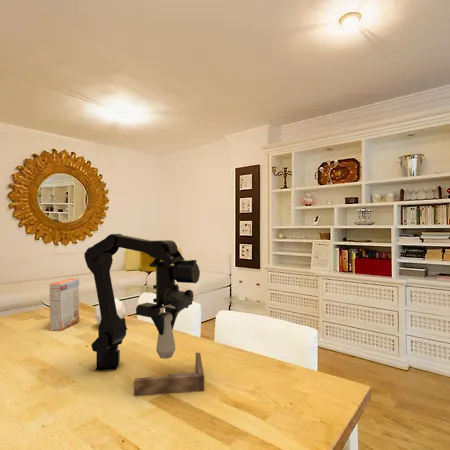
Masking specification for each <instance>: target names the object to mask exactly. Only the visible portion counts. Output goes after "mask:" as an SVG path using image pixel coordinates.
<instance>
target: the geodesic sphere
mask: <svg viewBox="0 0 450 450" xmlns="http://www.w3.org/2000/svg"><path fill="white" fill-rule="evenodd" d="M114 299H115V305H116V310H117V314H118V316H119V317H120V318H121V319H122V318H125V317H126V310H127V309H126V307H125V304H124V303H123V302H122V301H121V300H120V299H118V298H116V297H114ZM94 319H95V320H96V322H97V324H98V325H99V324H100V321H101V313H100V307H99V304H98V305H97V306H96V308H95V309H94Z"/></svg>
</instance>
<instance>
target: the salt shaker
mask: <svg viewBox="0 0 450 450" xmlns="http://www.w3.org/2000/svg"><path fill="white" fill-rule="evenodd" d="M164 313H167V315H166V316H165V317H164V331H163V335H160V334H159V333H158V335H157V343H156V348H155V350H156V352H157V354H158V356H159V358H160V359H167V360H168V359H170V358H172V357H173V356H174V352H175V351H176V342H175V336H174V332H173V330H172V326H171V321H172V314H171V313H169V312H165V311H164Z"/></svg>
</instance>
